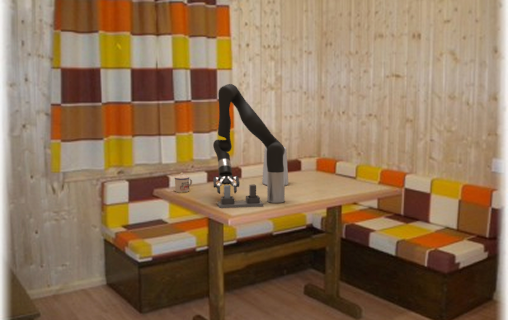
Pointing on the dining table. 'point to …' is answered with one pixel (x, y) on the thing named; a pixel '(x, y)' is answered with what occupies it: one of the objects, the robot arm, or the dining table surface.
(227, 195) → the plug
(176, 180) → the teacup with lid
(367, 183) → the dining table surface
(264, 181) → the plastic bottle
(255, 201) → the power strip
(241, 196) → the dining table surface
